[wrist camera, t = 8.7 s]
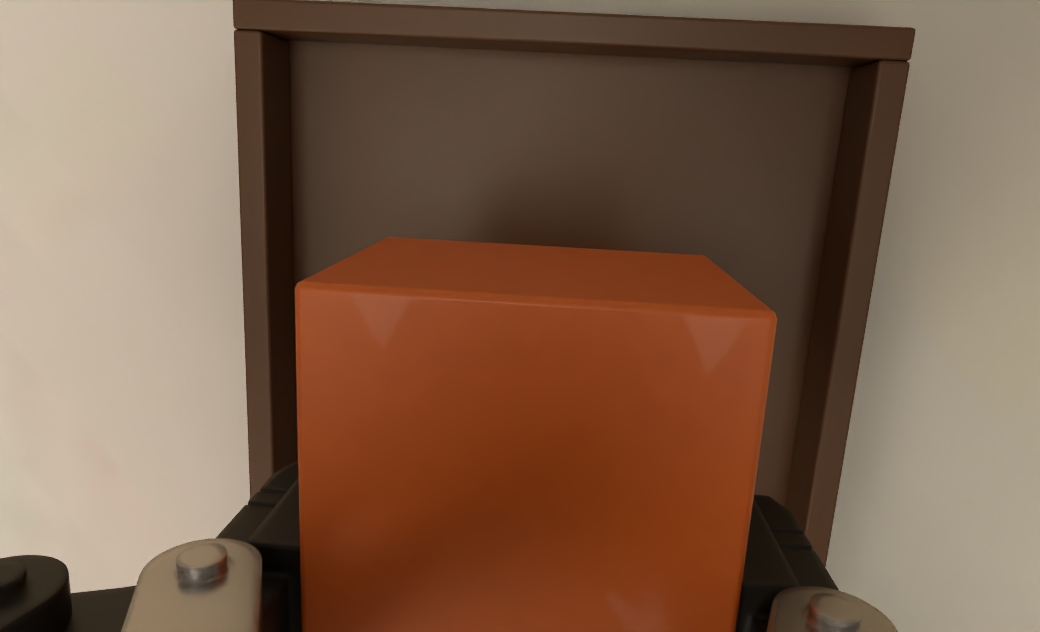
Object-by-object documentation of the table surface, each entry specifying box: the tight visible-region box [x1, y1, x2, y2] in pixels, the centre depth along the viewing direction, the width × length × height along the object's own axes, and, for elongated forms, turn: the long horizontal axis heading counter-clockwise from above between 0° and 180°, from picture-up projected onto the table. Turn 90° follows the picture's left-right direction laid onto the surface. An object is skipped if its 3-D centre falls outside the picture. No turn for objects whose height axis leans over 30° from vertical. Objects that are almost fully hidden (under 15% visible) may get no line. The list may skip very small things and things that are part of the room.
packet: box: [295, 237, 777, 632], centre depth 10 cm, size 8×5×4 cm, turn 177°
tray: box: [233, 0, 915, 567], centre depth 17 cm, size 16×13×2 cm
